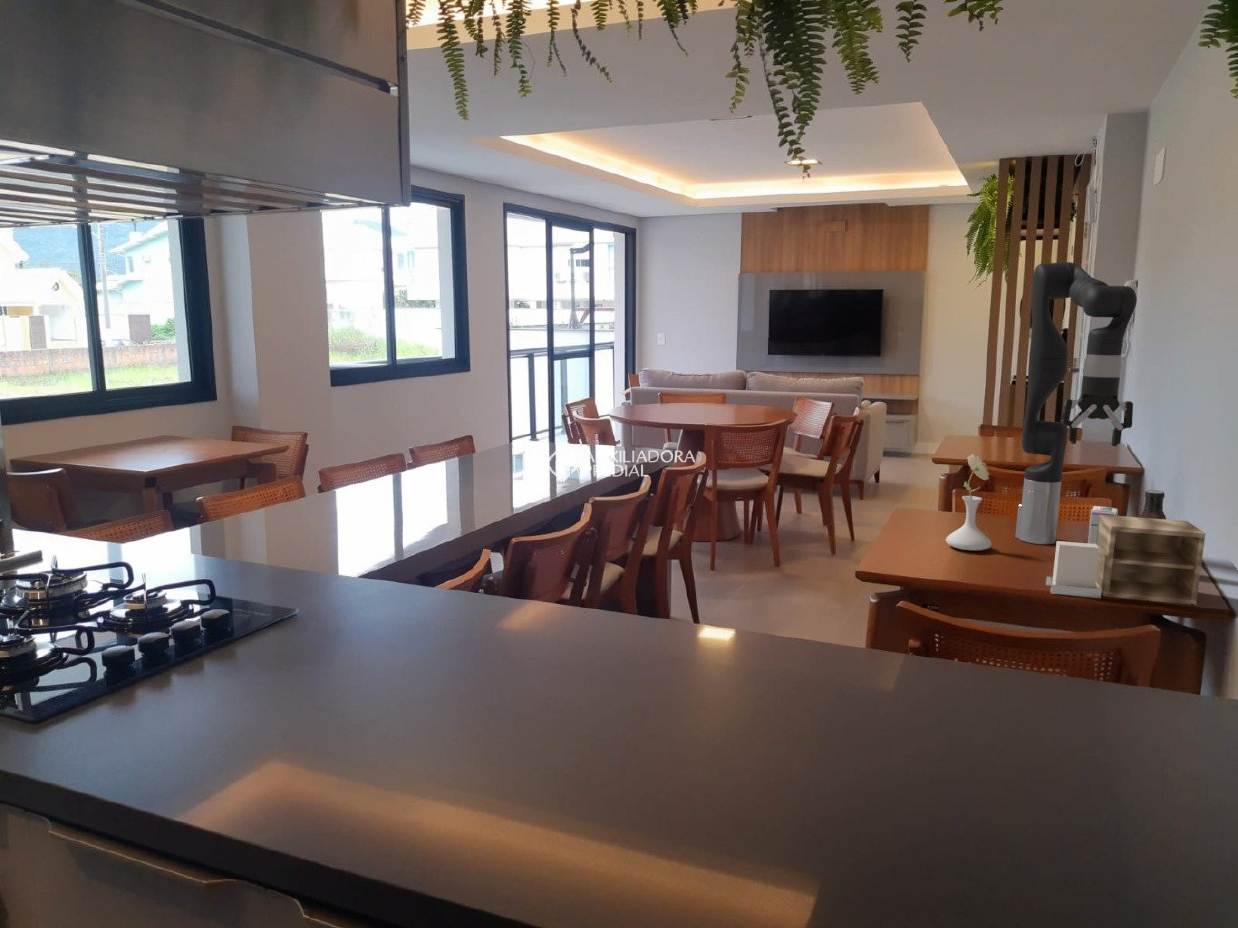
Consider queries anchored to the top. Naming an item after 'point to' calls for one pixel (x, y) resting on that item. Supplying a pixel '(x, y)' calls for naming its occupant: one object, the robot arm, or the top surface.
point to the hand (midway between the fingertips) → (1093, 444)
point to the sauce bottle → (1153, 505)
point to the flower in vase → (971, 515)
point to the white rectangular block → (1075, 564)
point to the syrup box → (1095, 520)
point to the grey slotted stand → (1073, 590)
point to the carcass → (1149, 559)
